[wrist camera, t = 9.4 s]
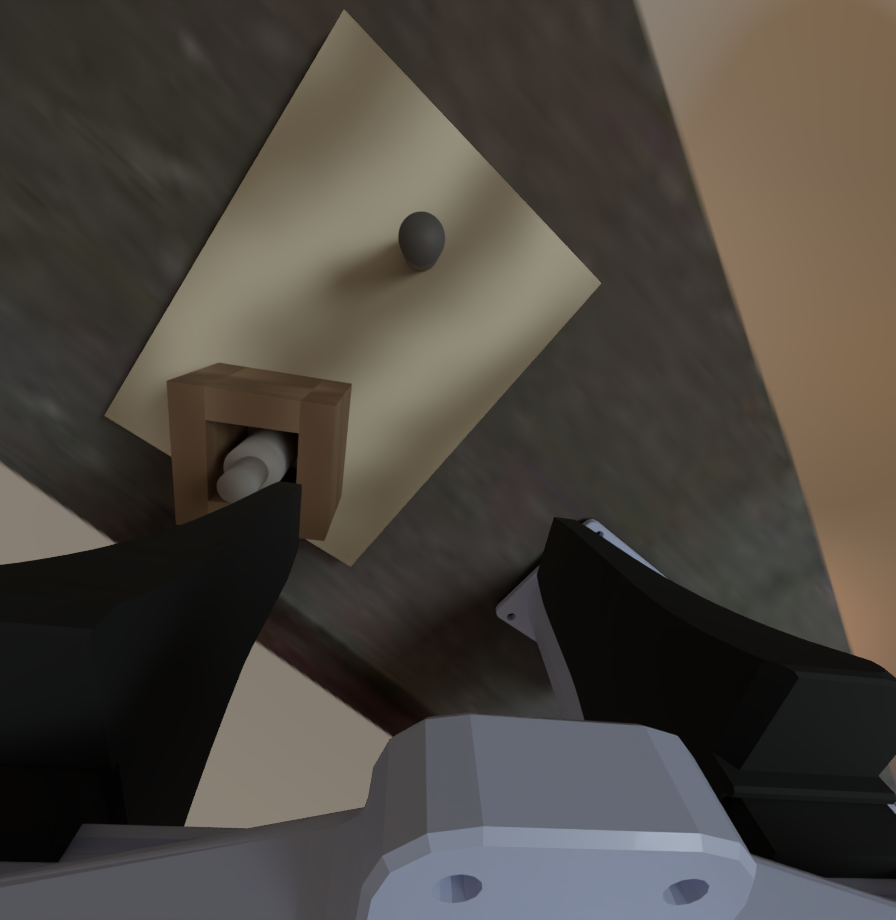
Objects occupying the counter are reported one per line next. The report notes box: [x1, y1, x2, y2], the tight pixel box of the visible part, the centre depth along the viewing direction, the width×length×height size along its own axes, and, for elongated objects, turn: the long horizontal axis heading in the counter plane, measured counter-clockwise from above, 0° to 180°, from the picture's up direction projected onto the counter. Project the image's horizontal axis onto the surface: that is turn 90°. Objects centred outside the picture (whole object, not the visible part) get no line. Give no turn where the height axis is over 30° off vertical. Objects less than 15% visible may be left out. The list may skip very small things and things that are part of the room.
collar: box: [166, 363, 352, 541], centre depth 17 cm, size 6×6×4 cm
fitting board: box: [104, 10, 601, 567], centre depth 16 cm, size 13×18×6 cm
